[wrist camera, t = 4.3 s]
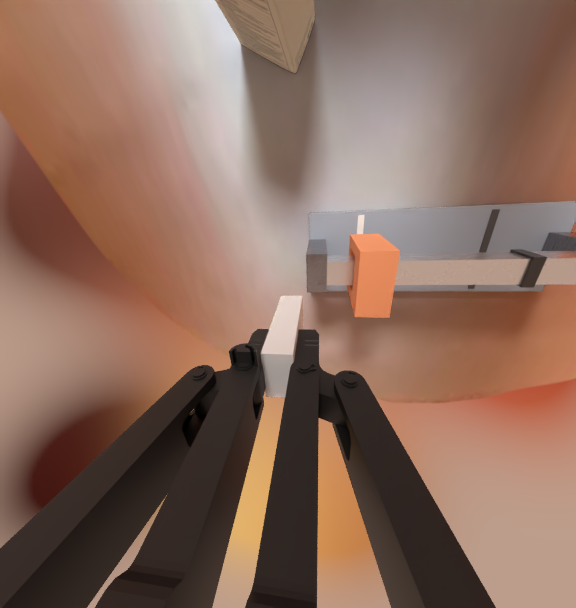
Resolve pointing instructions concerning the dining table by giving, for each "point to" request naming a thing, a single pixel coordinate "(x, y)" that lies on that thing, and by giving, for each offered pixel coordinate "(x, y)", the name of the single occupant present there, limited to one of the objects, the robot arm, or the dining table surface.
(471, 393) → the dining table surface
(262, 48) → the skincare box
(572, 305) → the dining table surface
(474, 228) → the board
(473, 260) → the rail
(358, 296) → the collar
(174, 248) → the dining table surface
